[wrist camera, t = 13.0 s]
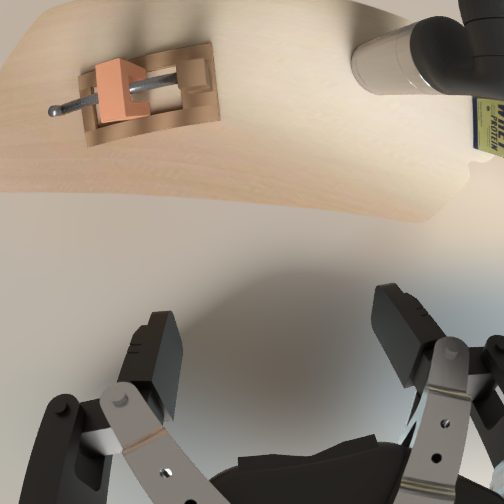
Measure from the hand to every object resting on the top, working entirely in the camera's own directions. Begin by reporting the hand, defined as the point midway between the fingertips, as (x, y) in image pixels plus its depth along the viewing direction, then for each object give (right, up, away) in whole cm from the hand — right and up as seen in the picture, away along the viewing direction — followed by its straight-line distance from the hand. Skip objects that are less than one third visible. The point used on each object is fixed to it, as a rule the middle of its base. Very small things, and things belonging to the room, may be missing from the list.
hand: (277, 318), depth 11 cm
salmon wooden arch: (-17, +24, +24) cm, 38 cm away
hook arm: (-17, +21, +18) cm, 33 cm away
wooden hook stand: (-17, +26, +27) cm, 41 cm away
